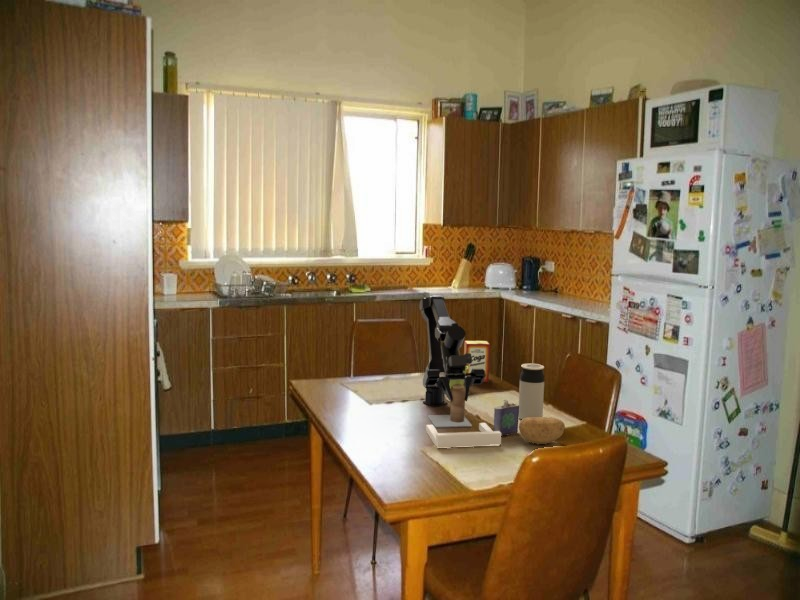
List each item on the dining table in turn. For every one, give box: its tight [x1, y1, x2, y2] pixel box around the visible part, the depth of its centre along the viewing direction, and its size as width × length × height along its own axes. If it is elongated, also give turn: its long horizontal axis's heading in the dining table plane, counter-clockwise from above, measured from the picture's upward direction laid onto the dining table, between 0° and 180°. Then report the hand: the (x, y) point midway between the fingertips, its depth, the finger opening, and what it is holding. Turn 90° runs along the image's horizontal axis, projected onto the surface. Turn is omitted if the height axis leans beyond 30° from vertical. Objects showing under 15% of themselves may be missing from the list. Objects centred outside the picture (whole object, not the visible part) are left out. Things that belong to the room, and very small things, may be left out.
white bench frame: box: [425, 422, 502, 448], centre depth 199 cm, size 16×19×4 cm
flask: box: [492, 399, 519, 437], centre depth 203 cm, size 9×3×11 cm, turn 121°
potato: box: [518, 416, 566, 445], centre depth 196 cm, size 10×14×8 cm
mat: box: [427, 414, 473, 429], centre depth 215 cm, size 12×12×1 cm
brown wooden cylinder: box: [449, 384, 466, 422], centre depth 204 cm, size 4×4×11 cm
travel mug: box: [518, 363, 545, 420], centre depth 219 cm, size 8×8×18 cm
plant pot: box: [449, 366, 468, 390], centre depth 256 cm, size 9×9×9 cm
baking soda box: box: [463, 340, 491, 383], centre depth 270 cm, size 10×6×16 cm
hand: (459, 400), depth 203 cm, fingers closed on brown wooden cylinder, 4 cm apart
